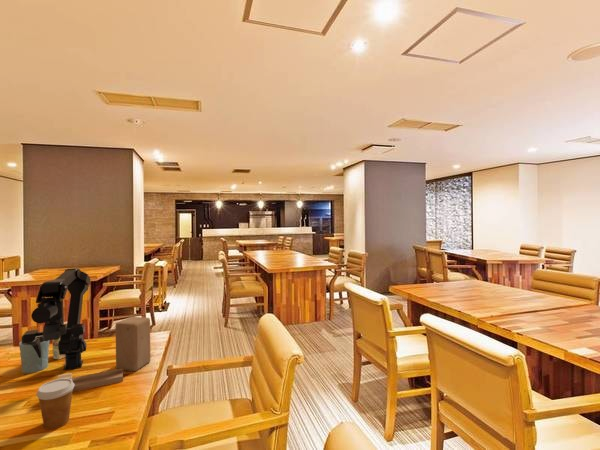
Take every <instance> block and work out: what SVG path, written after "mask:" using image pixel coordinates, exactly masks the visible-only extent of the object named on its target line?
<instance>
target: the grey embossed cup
mask: <svg viewBox="0 0 600 450" xmlns="http://www.w3.org/2000/svg"><path fill="white" fill-rule="evenodd" d="M50 341H51V340H48V341H44V340H43V337H40V345H41V358H39V356H38V355H37V353H36V351H35V349H34V348H33V346H31V345H27V344H26V343H22V341H20V342H19V343H18V345H19V353H20V363H21V372H22V373H23V374H34V373H39V372H41V371H43V370H45V369H47V368H48V366H49V355H50V353H49V352H50Z"/></svg>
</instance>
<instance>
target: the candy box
mask: <svg viewBox="0 0 600 450" xmlns="http://www.w3.org/2000/svg"><path fill="white" fill-rule="evenodd" d="M64 324H66V327H67V320H64ZM59 341H60V338H59V339H57V340H51V342H52V359H53V360H62V359H64V358H65V354H62V355H60V354H59V349H58V343H59Z"/></svg>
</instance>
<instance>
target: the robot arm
mask: <svg viewBox="0 0 600 450" xmlns="http://www.w3.org/2000/svg"><path fill="white" fill-rule="evenodd" d="M90 284H91V278H90V276H89V274H88V273H86V272H83V271H82V270H81V269H80V268H66V269H64V271H63V273H61V274H60V275H58V276H57V277H56V278H55V279H51V280H50V279H49V280H47V281H45V282H42V284H41V285H40V286H39V290H38V292H37V296H36V299H35V303H36V304H37V307H36V308H34V310H33V311H32V312H31V314H30V315H31V320H32V321H33V322H34V323H37V324H44V325H43V329H42V331H39V329H34V330H33V329H32V330H26V331H25V332H24V334H23V335H21V342H22V343H26V344H27V345H31V346H33V348H34V349H35V351H36V353H37V355H38V356H39V358H41V345H40V337H43V340H44V341H48V340H50V341H52V340H57V339H59V338H60V341H59V343H58V349H59V354H60V355H62V354H65V357H64V358H65V359H64V363H65V364H64V366H63V371H68V370H72V369H73V370H74V369H78V368H79V369H80V368H82V367H83V364H84V360H82V353H84V352H86V351H87V347H88V346H87V342H86V341H85V339H84V333H85V330H86V329H85V327H86V325H85V324H84V323H81V319H82V318H81V317H82V309H83V301H84V295H85V294H86V292H88V290H89V287H90V286H89V285H90ZM67 291H68V292H69V294H70V296H69V297H70V299H69V305H68V314H67V320H66V321H67V327H66V324H64V322H65V320H64V317H65V315H64V300H65V298H66V295H67Z"/></svg>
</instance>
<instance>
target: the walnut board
mask: <svg viewBox="0 0 600 450" xmlns="http://www.w3.org/2000/svg"><path fill="white" fill-rule="evenodd" d="M72 381H73V383H74V384H75V386H74V388H73V392H77V391H84V390H88V389H92V388H98V387H102V386H108V385H112V384H117V383H121V382H124V370H123V368H121V369H117V368H115V369H109V370H105V371H101V372H95V373H91V374H90V373H89V374H83V375H80V376H75V377H73V376H72ZM73 392H72V393H73Z"/></svg>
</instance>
